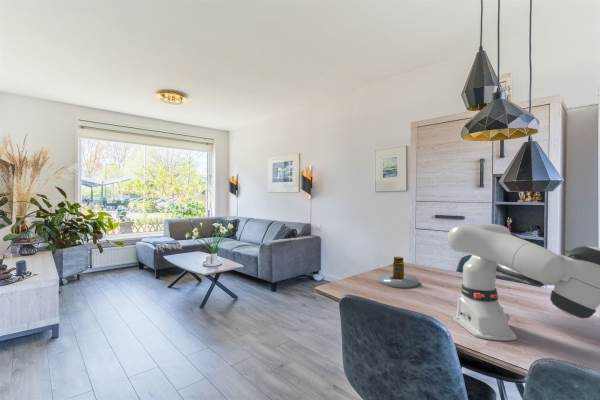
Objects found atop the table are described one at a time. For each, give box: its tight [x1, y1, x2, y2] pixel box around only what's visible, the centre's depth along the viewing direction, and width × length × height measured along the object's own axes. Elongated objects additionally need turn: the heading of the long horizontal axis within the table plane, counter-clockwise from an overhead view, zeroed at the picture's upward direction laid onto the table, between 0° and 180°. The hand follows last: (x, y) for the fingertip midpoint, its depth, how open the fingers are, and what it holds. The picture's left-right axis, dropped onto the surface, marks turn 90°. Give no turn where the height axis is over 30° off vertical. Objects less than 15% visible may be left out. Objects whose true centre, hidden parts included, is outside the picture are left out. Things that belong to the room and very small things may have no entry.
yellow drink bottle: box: [390, 256, 407, 281], centre depth 170 cm, size 7×8×12 cm
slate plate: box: [377, 272, 419, 289], centre depth 170 cm, size 22×22×2 cm
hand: (472, 230), depth 150 cm, fingers open, 8 cm apart
